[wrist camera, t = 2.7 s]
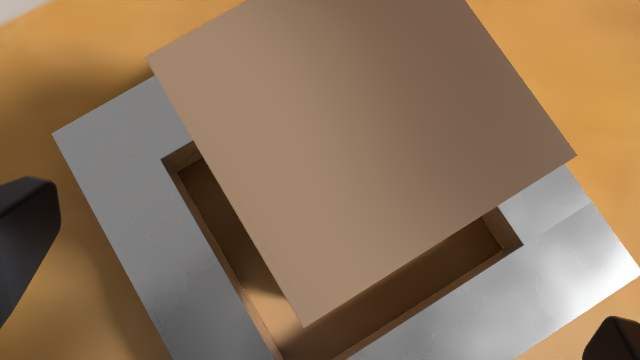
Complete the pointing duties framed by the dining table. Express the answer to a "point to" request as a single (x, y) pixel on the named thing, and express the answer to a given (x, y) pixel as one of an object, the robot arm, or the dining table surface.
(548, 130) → the walnut block
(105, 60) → the dining table surface
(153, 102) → the metal collar stand
